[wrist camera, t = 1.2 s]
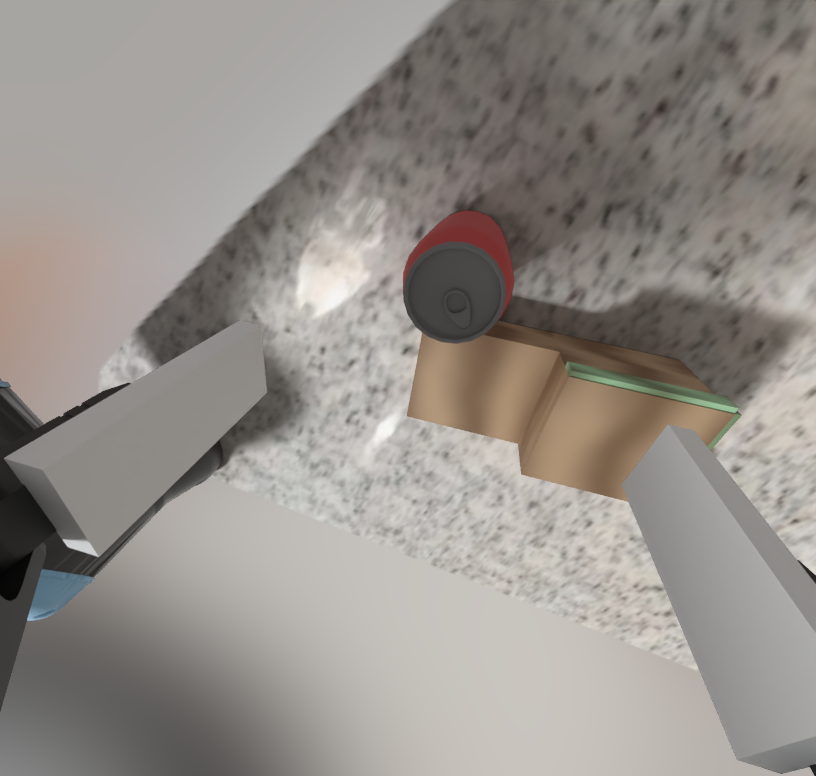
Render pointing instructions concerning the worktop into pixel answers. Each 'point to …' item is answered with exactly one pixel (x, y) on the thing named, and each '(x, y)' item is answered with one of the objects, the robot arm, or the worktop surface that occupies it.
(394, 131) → the worktop surface
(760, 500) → the worktop surface
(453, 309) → the beer can
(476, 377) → the step stand
